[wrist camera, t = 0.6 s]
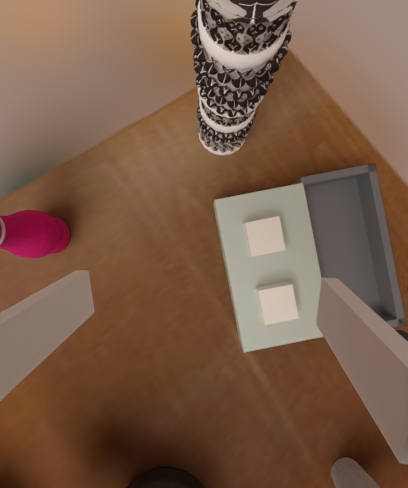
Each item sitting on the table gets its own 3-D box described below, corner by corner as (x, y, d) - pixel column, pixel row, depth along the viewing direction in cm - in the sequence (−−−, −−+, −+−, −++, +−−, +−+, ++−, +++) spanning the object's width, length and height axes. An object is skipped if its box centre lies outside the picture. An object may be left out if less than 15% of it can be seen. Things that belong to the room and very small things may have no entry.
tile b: (279, 249, 36) (285, 250, 33) (248, 255, 36) (251, 256, 33) (273, 218, 36) (279, 216, 33) (242, 224, 36) (245, 222, 33)
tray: (388, 318, 40) (406, 325, 36) (320, 331, 40) (331, 339, 36) (359, 170, 40) (374, 163, 36) (291, 183, 40) (300, 177, 36)
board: (319, 325, 40) (332, 334, 36) (239, 341, 40) (243, 352, 36) (292, 189, 40) (303, 182, 36) (213, 204, 40) (214, 199, 36)
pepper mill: (59, 206, 39) (-89, 166, 19) (81, 242, 39) (-43, 239, 19) (22, 228, 39) (-163, 211, 19) (45, 264, 39) (-117, 285, 19)
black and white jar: (220, 169, 40) (252, 40, 15) (184, 128, 40) (155, -71, 15) (260, 134, 40) (360, -54, 15) (224, 93, 40) (264, -165, 15)
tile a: (292, 313, 36) (298, 318, 33) (260, 319, 36) (265, 325, 33) (286, 281, 36) (292, 284, 33) (254, 287, 36) (258, 290, 33)
